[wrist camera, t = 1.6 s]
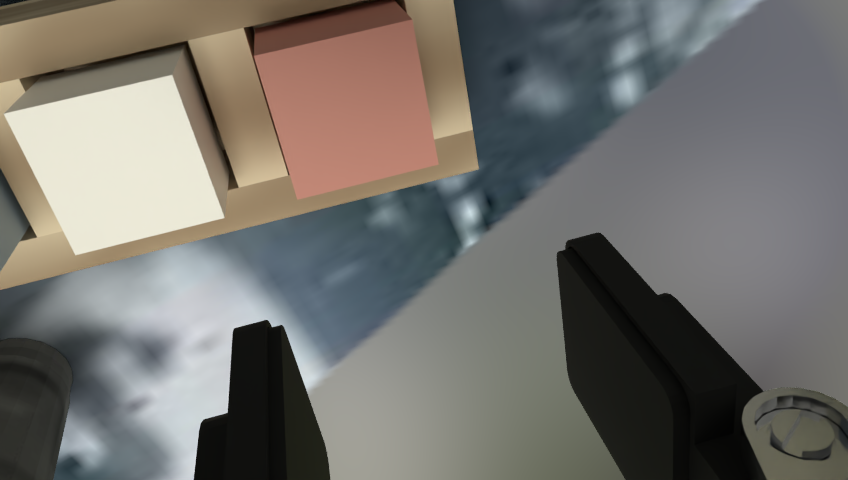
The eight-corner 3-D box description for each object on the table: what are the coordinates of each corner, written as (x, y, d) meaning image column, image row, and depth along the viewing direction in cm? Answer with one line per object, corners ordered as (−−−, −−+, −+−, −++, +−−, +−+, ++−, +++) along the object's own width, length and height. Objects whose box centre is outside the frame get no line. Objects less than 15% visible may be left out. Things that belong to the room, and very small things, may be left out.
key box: (-208, 51, 26) (-312, 94, 21) (412, -84, 28) (442, -72, 24) (-80, 253, 31) (-142, 325, 26) (447, 124, 33) (478, 169, 28)
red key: (255, 28, 25) (253, 55, 21) (392, -3, 25) (412, 19, 22) (293, 156, 27) (297, 199, 24) (416, 126, 28) (438, 164, 24)
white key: (40, 77, 24) (3, 113, 21) (185, 44, 25) (172, 74, 21) (99, 203, 27) (75, 255, 23) (229, 172, 27) (224, 218, 24)
